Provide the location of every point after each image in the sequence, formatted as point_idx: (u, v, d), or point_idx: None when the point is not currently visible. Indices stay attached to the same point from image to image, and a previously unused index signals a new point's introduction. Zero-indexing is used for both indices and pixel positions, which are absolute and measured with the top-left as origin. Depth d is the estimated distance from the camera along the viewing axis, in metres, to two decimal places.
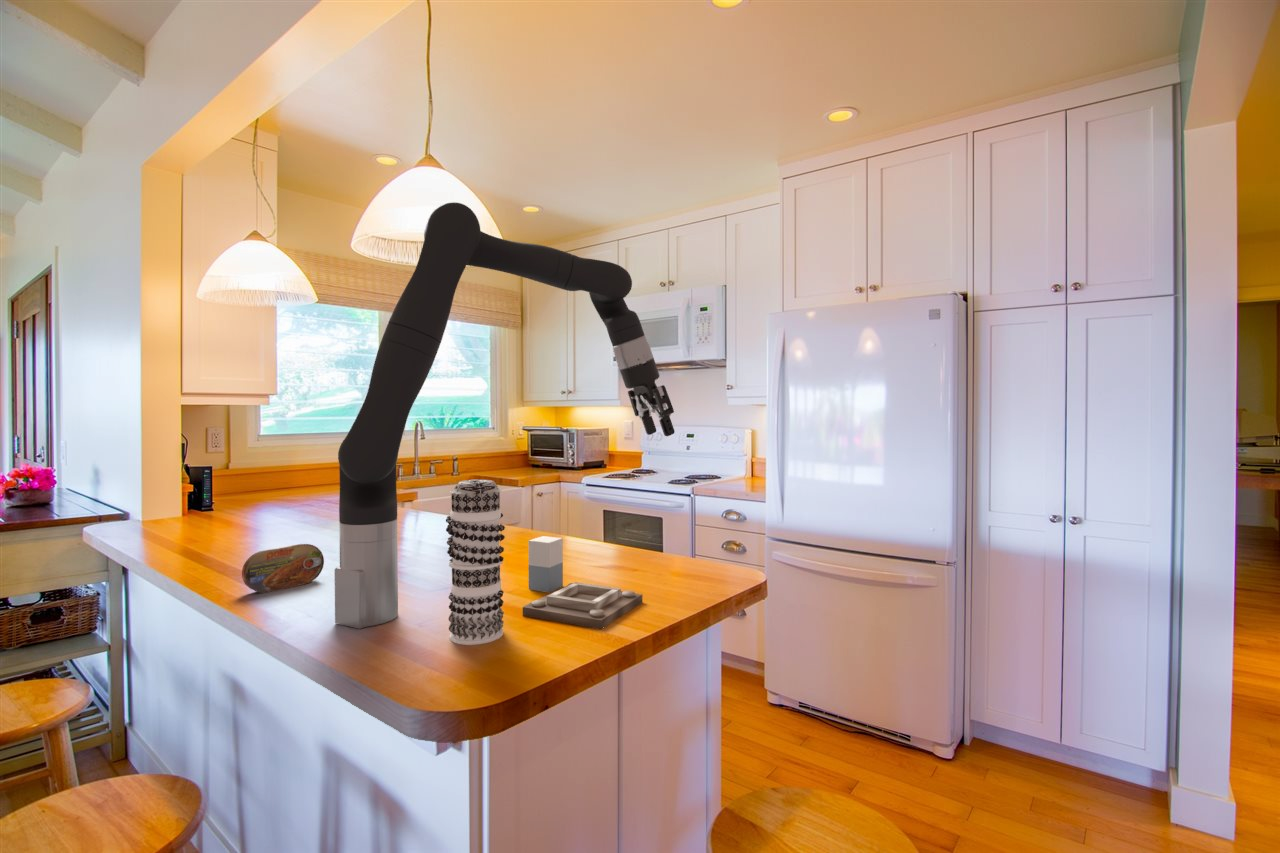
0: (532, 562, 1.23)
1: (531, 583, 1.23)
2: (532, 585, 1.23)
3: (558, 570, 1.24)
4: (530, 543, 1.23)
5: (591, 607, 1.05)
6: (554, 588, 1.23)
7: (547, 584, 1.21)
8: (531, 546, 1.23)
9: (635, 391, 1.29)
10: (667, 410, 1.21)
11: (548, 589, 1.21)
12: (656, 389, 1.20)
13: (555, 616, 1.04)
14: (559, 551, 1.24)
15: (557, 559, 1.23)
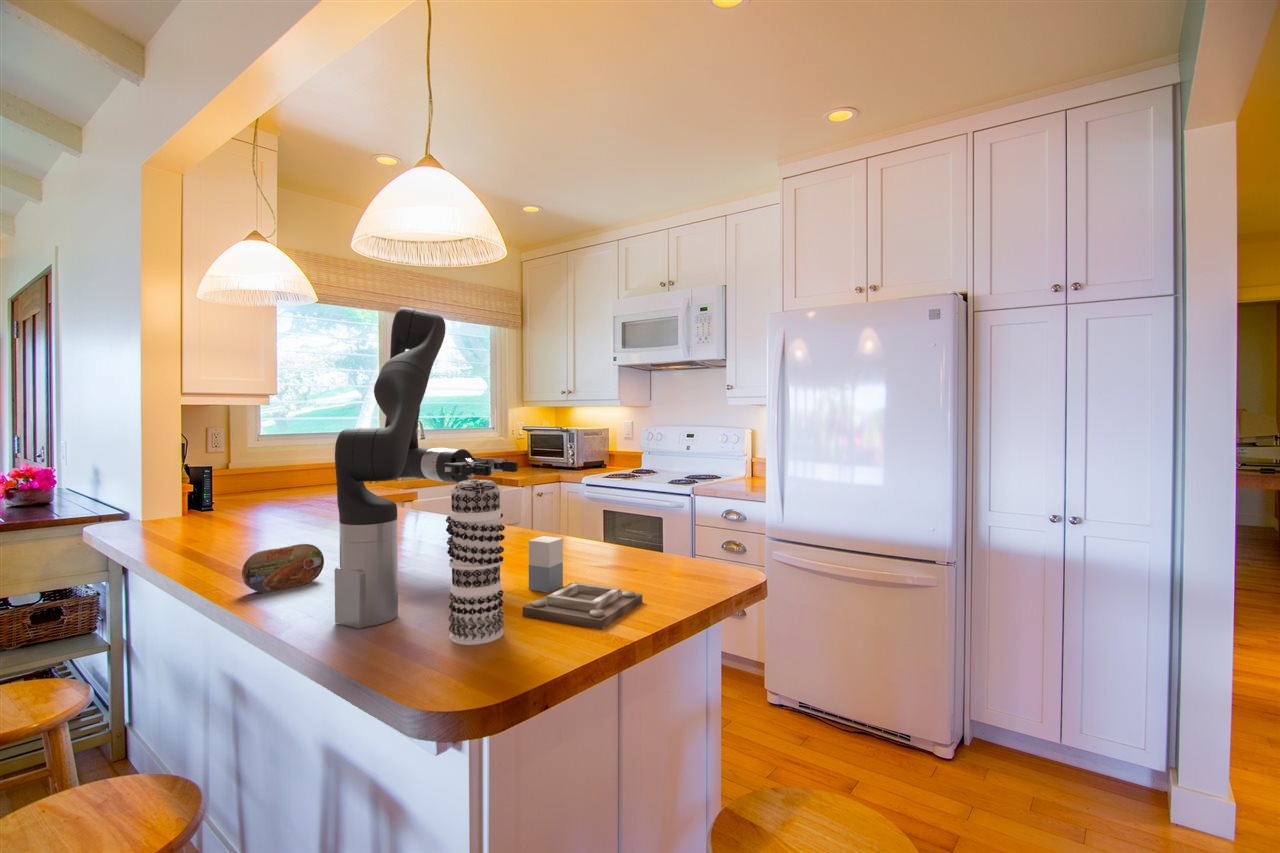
0: (532, 562, 1.23)
1: (531, 583, 1.23)
2: (532, 585, 1.23)
3: (558, 570, 1.24)
4: (530, 543, 1.23)
5: (591, 607, 1.05)
6: (554, 588, 1.23)
7: (547, 584, 1.21)
8: (531, 546, 1.23)
9: (458, 462, 1.30)
10: None
11: (548, 589, 1.21)
12: None
13: (555, 616, 1.04)
14: (559, 551, 1.24)
15: (557, 559, 1.23)
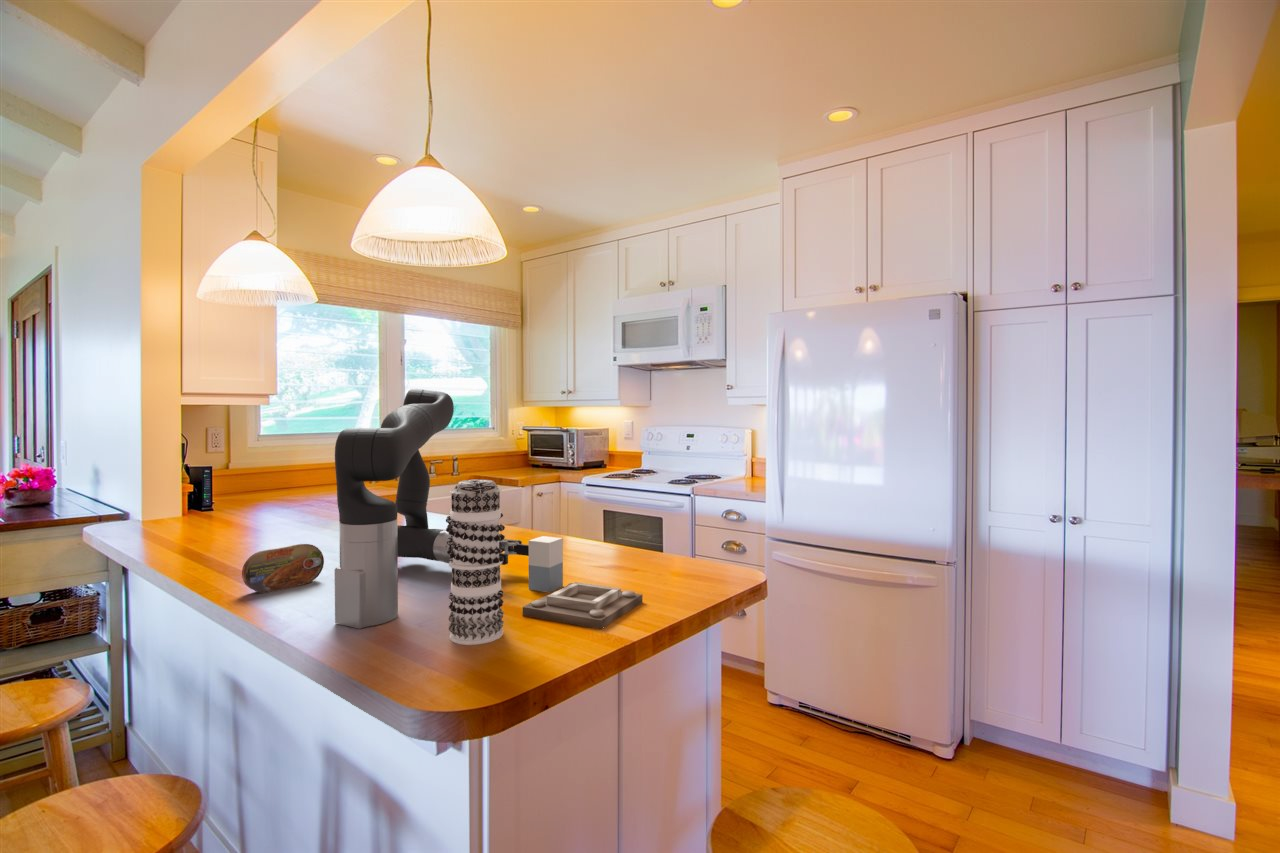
0: (532, 562, 1.23)
1: (531, 583, 1.23)
2: (532, 585, 1.23)
3: (558, 570, 1.24)
4: (530, 543, 1.23)
5: (591, 607, 1.05)
6: (554, 588, 1.23)
7: (547, 584, 1.21)
8: (531, 546, 1.23)
9: None
10: None
11: (548, 589, 1.21)
12: None
13: (555, 616, 1.04)
14: (559, 551, 1.24)
15: (557, 559, 1.23)
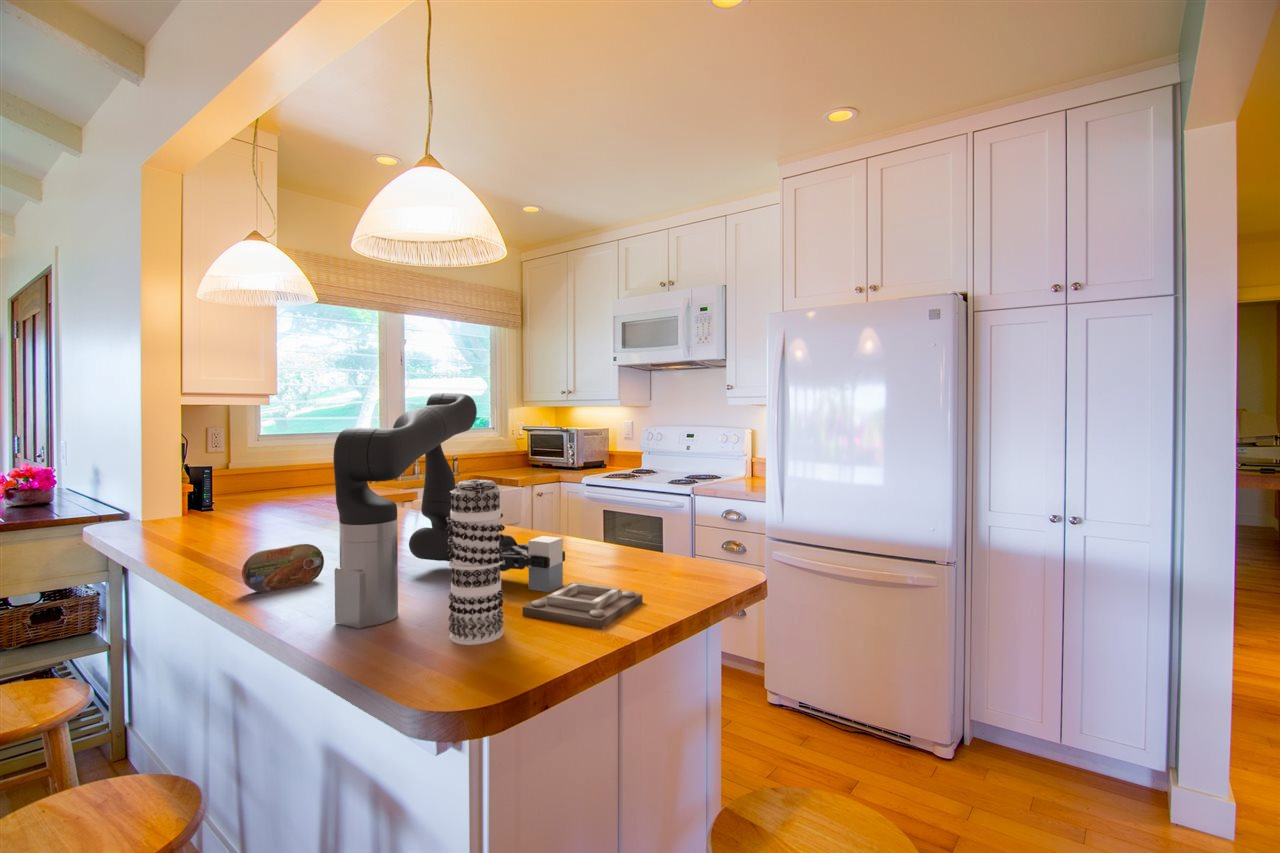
0: None
1: (531, 583, 1.23)
2: (532, 585, 1.23)
3: (558, 570, 1.24)
4: (530, 543, 1.23)
5: (591, 607, 1.05)
6: (554, 588, 1.23)
7: (547, 584, 1.21)
8: (531, 546, 1.23)
9: (504, 551, 1.25)
10: None
11: (548, 589, 1.21)
12: None
13: (555, 616, 1.04)
14: (559, 550, 1.24)
15: (556, 559, 1.23)
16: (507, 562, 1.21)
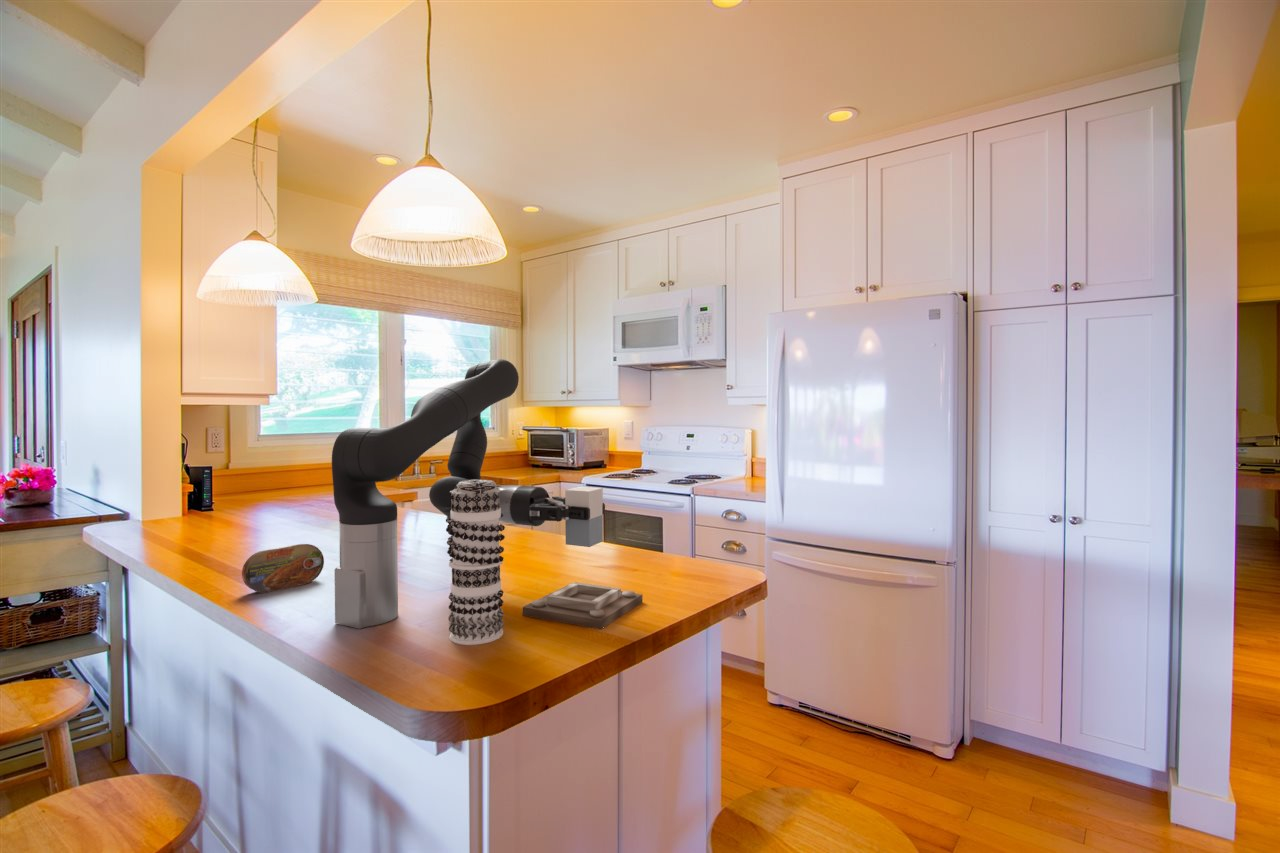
0: None
1: (569, 537, 1.10)
2: (569, 539, 1.10)
3: (598, 523, 1.11)
4: (567, 493, 1.10)
5: (591, 607, 1.05)
6: (594, 543, 1.10)
7: (588, 538, 1.08)
8: (568, 496, 1.10)
9: (537, 503, 1.12)
10: None
11: (588, 543, 1.08)
12: None
13: (555, 616, 1.04)
14: (599, 502, 1.11)
15: (597, 511, 1.10)
16: (542, 513, 1.08)
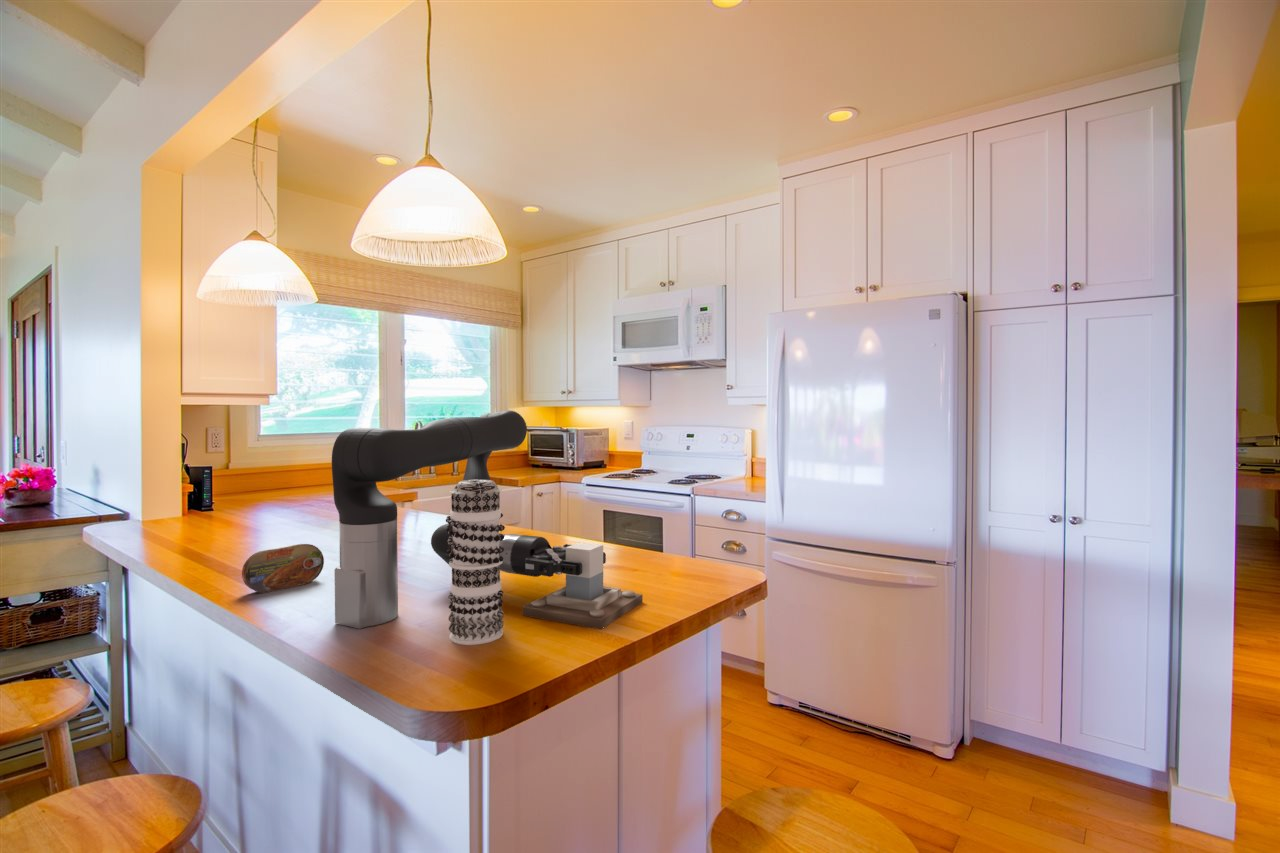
0: None
1: (569, 595, 1.10)
2: None
3: (599, 581, 1.11)
4: (568, 550, 1.09)
5: (591, 607, 1.05)
6: None
7: (588, 597, 1.08)
8: (569, 554, 1.09)
9: (538, 555, 1.12)
10: None
11: None
12: None
13: (555, 616, 1.04)
14: (599, 559, 1.11)
15: (597, 569, 1.10)
16: (535, 567, 1.07)
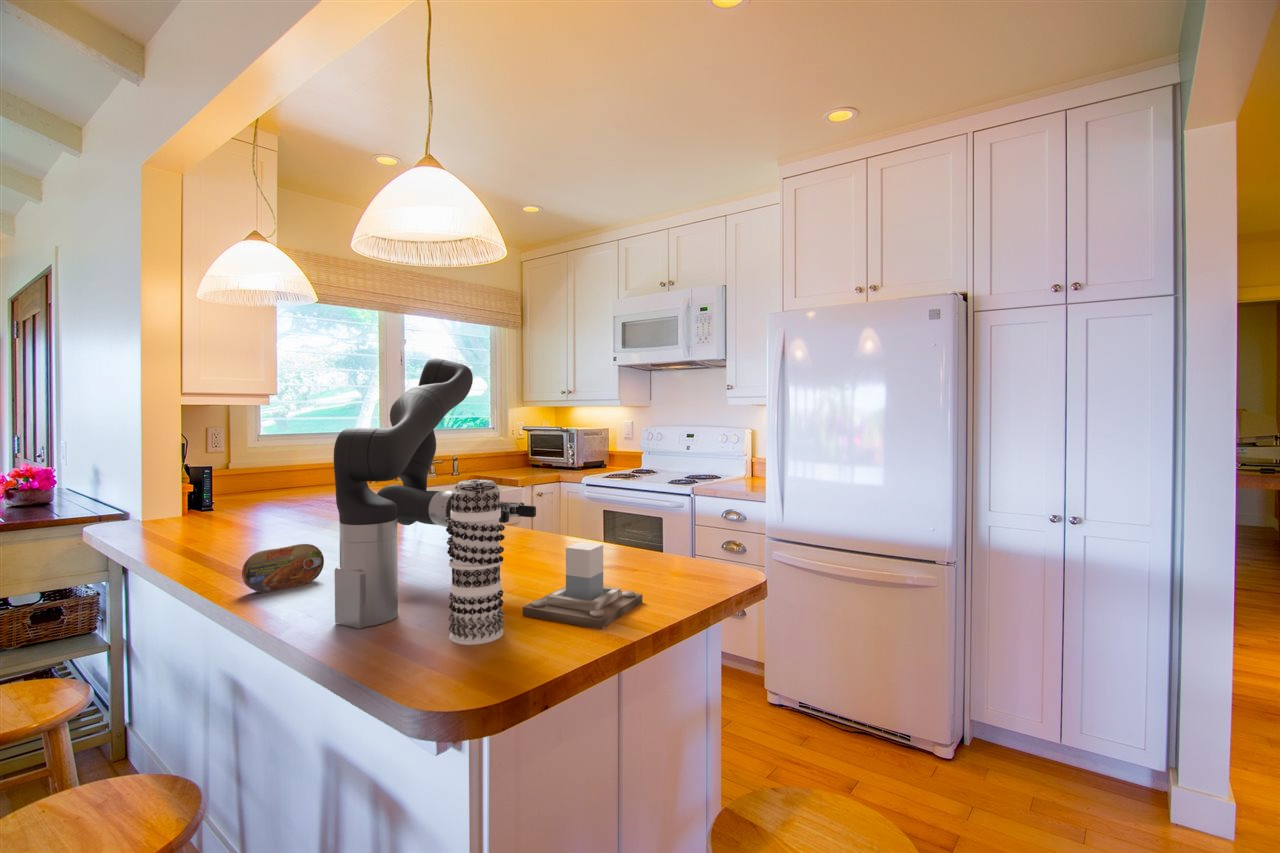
0: (570, 572, 1.09)
1: (569, 595, 1.10)
2: None
3: (599, 581, 1.11)
4: (568, 550, 1.09)
5: (591, 607, 1.05)
6: None
7: (588, 597, 1.08)
8: (569, 554, 1.09)
9: None
10: None
11: None
12: None
13: (555, 616, 1.04)
14: (599, 559, 1.11)
15: (597, 569, 1.10)
16: None
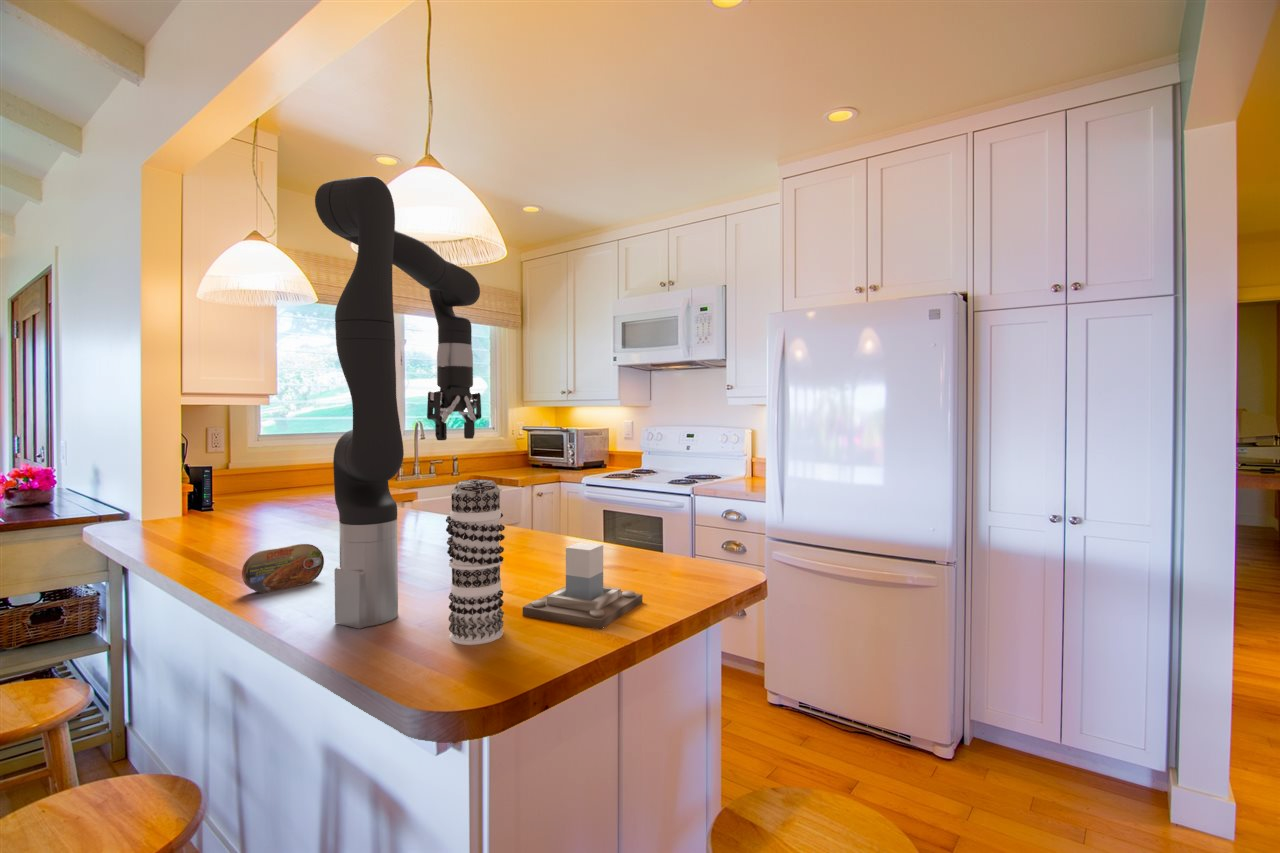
0: (570, 572, 1.09)
1: (569, 595, 1.10)
2: None
3: (599, 581, 1.11)
4: (568, 550, 1.09)
5: (591, 607, 1.05)
6: None
7: (588, 597, 1.08)
8: (569, 554, 1.09)
9: None
10: (431, 414, 1.26)
11: None
12: (430, 392, 1.27)
13: (555, 616, 1.04)
14: (599, 559, 1.11)
15: (597, 569, 1.10)
16: None
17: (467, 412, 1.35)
